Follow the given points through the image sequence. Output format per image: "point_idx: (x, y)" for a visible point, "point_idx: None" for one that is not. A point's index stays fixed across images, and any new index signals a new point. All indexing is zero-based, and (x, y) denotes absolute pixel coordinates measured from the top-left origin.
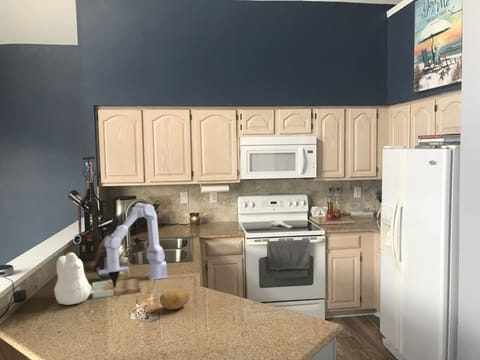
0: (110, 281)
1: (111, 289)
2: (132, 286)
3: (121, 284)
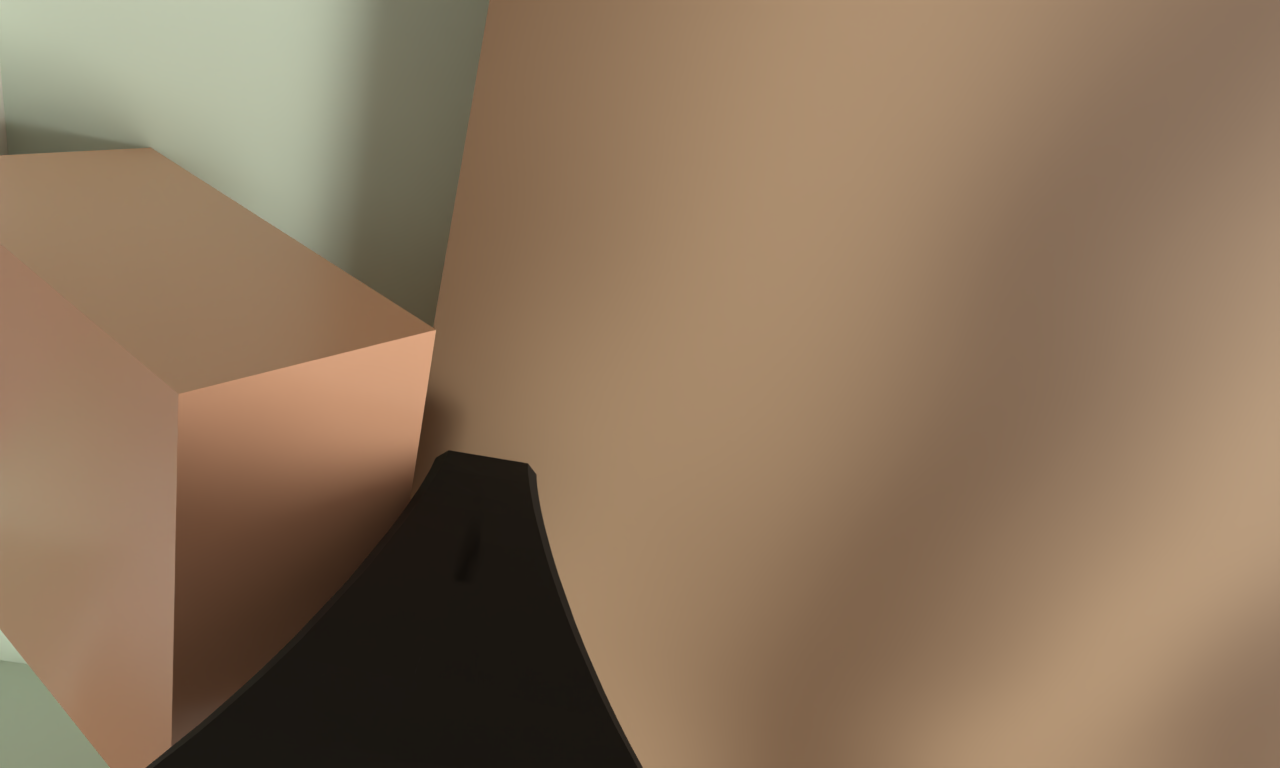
0: (227, 472)
1: (389, 226)
2: (1110, 719)
3: (916, 244)
